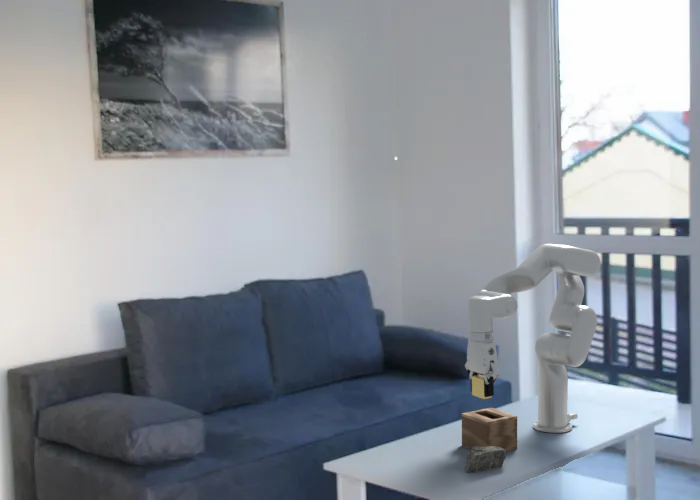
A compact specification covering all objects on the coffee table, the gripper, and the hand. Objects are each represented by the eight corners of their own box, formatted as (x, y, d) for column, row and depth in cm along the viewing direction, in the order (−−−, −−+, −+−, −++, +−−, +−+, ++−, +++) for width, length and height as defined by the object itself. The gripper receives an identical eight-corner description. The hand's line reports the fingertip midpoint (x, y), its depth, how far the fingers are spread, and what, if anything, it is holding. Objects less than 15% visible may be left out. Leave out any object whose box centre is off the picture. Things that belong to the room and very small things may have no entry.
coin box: (491, 438, 290) (491, 407, 289) (517, 448, 280) (517, 416, 279) (461, 445, 284) (461, 413, 283) (486, 455, 274) (487, 422, 273)
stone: (483, 473, 270) (498, 443, 270) (498, 484, 264) (514, 453, 264) (451, 462, 262) (467, 431, 262) (467, 473, 256) (482, 441, 256)
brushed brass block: (479, 393, 284) (479, 374, 283) (491, 397, 279) (491, 378, 278) (472, 395, 283) (471, 376, 282) (484, 399, 277) (483, 380, 277)
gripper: (509, 339, 273) (509, 397, 275) (473, 330, 288) (474, 386, 290) (489, 342, 269) (490, 402, 271) (454, 333, 284) (455, 390, 286)
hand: (482, 393), depth 281 cm, fingers closed on brushed brass block, 5 cm apart
